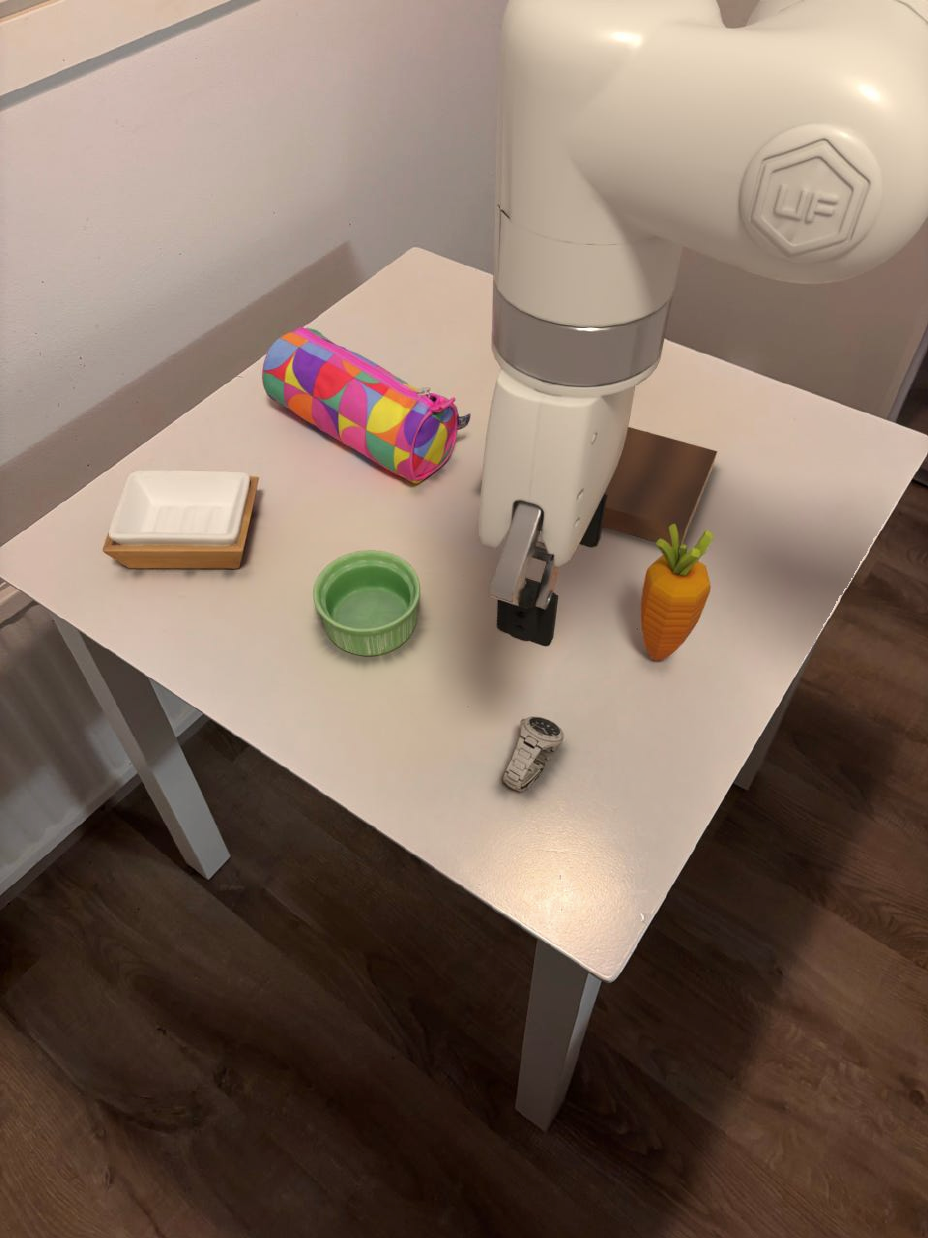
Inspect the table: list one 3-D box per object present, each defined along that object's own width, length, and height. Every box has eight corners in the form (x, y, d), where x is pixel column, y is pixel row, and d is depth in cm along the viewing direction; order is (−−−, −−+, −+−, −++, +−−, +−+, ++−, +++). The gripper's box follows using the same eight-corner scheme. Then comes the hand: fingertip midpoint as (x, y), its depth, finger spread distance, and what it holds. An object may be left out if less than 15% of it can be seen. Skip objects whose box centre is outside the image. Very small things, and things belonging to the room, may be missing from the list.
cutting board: (712, 470, 90) (717, 450, 89) (679, 549, 84) (684, 530, 82) (527, 418, 96) (529, 399, 94) (483, 489, 89) (483, 470, 87)
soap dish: (114, 578, 82) (96, 540, 78) (139, 503, 88) (123, 464, 84) (251, 578, 82) (240, 540, 78) (266, 503, 88) (256, 464, 84)
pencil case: (476, 451, 92) (477, 378, 85) (419, 503, 88) (415, 430, 81) (320, 375, 101) (309, 302, 93) (260, 418, 96) (244, 345, 89)
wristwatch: (570, 751, 70) (575, 716, 66) (527, 810, 67) (531, 777, 63) (532, 729, 72) (535, 694, 68) (488, 786, 68) (489, 752, 65)
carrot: (620, 671, 75) (648, 548, 63) (635, 628, 78) (665, 503, 66) (678, 690, 74) (717, 568, 62) (692, 645, 77) (732, 521, 65)
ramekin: (355, 569, 82) (350, 536, 79) (441, 605, 80) (439, 572, 76) (299, 637, 77) (291, 605, 74) (388, 678, 75) (384, 646, 71)
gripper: (565, 207, 44) (542, 474, 58) (412, 412, 35) (428, 675, 48) (714, 238, 43) (654, 506, 56) (597, 464, 33) (559, 723, 46)
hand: (550, 583), depth 52 cm, fingers open, 7 cm apart
